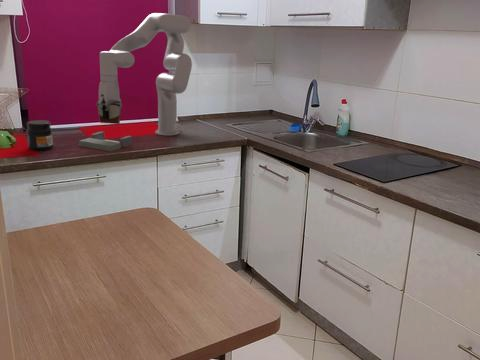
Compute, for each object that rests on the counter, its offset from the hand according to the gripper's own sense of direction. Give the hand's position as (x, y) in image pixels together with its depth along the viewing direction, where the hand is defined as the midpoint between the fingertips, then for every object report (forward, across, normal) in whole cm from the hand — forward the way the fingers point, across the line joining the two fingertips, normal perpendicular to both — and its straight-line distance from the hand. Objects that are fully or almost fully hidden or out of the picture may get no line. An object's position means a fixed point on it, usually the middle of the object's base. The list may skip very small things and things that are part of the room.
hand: (110, 117), depth 224 cm
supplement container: (+13, +24, -20) cm, 34 cm away
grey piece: (+13, +5, 0) cm, 14 cm away
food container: (+3, -1, 0) cm, 3 cm away
